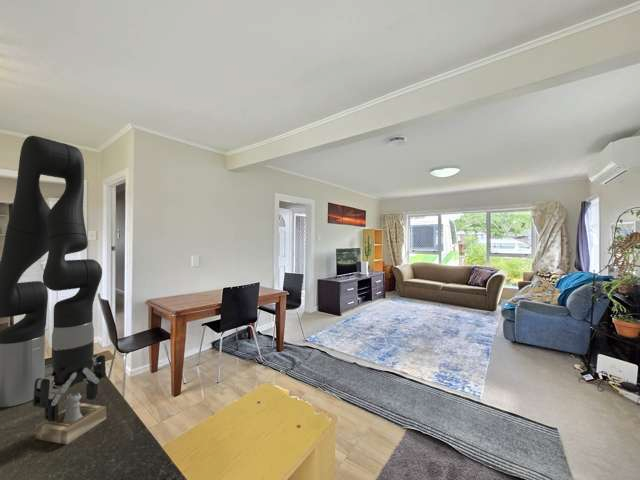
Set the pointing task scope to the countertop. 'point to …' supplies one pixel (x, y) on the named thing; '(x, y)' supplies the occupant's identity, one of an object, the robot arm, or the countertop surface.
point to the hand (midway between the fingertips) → (72, 409)
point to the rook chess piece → (72, 408)
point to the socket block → (71, 425)
